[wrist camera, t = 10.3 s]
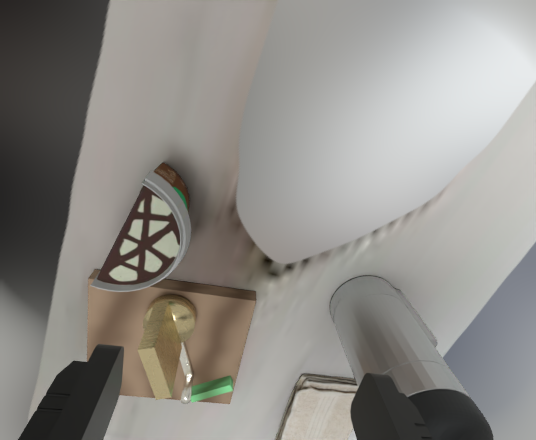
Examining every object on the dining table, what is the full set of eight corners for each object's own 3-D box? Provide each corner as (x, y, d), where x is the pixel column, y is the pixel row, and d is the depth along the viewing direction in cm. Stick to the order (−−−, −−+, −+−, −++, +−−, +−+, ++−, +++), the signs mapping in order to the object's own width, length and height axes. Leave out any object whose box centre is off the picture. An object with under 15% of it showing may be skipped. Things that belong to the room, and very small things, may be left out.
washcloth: (368, 375, 52) (375, 392, 50) (336, 447, 59) (341, 466, 57) (296, 368, 51) (299, 386, 48) (272, 443, 58) (273, 462, 55)
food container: (171, 261, 41) (151, 315, 32) (123, 239, 39) (87, 290, 30) (220, 178, 37) (213, 213, 28) (169, 150, 35) (144, 177, 26)
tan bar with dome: (140, 295, 40) (114, 353, 32) (189, 288, 40) (177, 344, 32) (169, 380, 46) (153, 448, 38) (212, 374, 46) (206, 440, 38)
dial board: (255, 291, 44) (256, 309, 40) (230, 392, 51) (229, 414, 48) (95, 269, 40) (82, 286, 37) (92, 380, 48) (81, 402, 44)
